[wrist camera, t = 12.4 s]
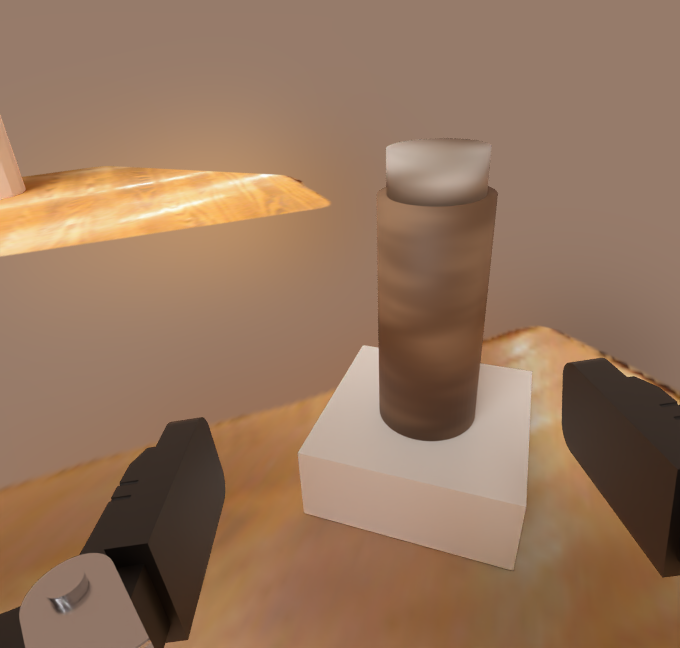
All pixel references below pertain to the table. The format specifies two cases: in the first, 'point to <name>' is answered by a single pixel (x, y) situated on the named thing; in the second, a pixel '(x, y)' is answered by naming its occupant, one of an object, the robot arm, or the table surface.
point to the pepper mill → (433, 283)
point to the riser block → (424, 468)
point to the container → (8, 168)
